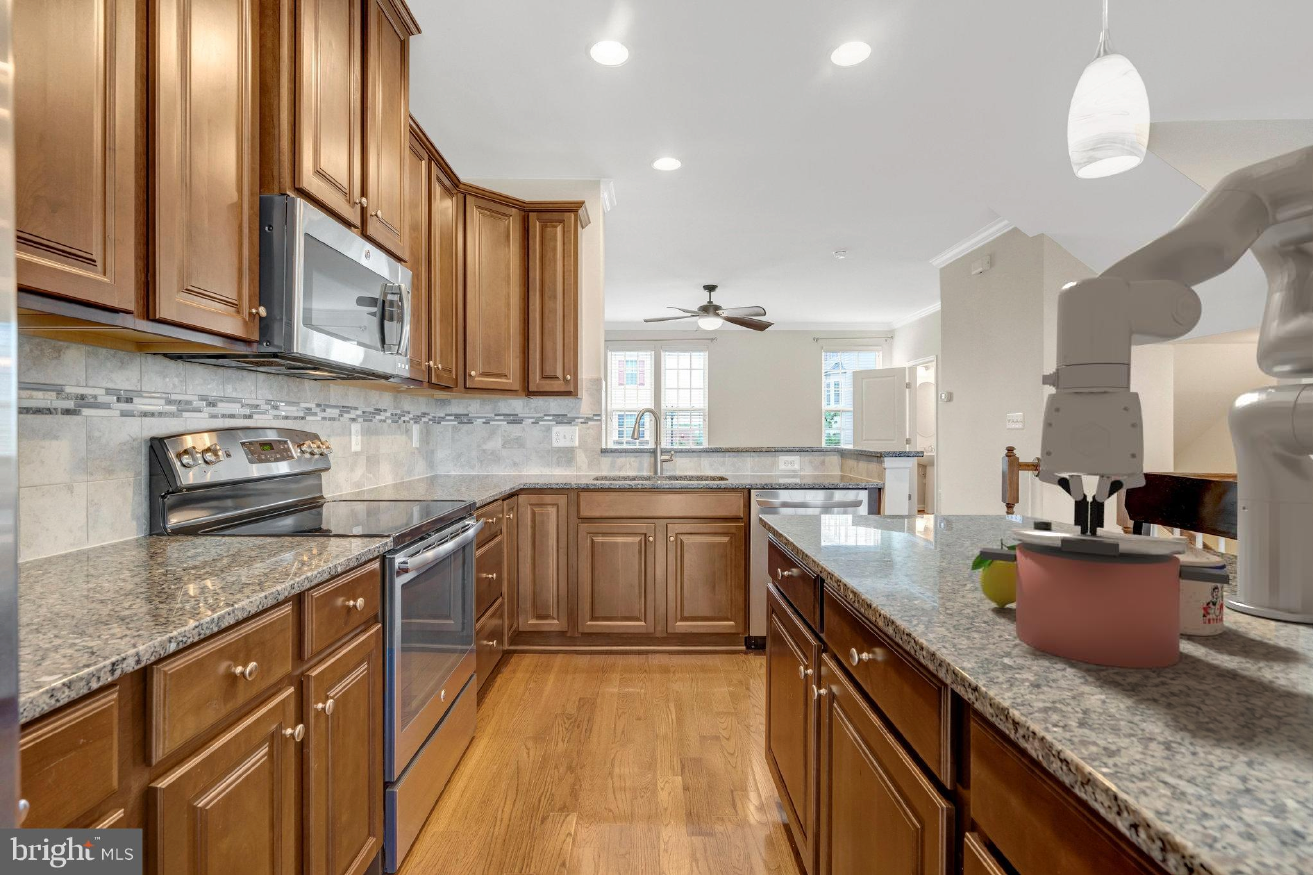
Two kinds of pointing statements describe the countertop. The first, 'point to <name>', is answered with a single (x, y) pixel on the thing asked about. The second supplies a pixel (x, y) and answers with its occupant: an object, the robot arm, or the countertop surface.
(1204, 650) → the countertop surface
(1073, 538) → the cooker lid
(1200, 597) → the teacup with lid
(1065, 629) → the cooker pot
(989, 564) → the lemon
